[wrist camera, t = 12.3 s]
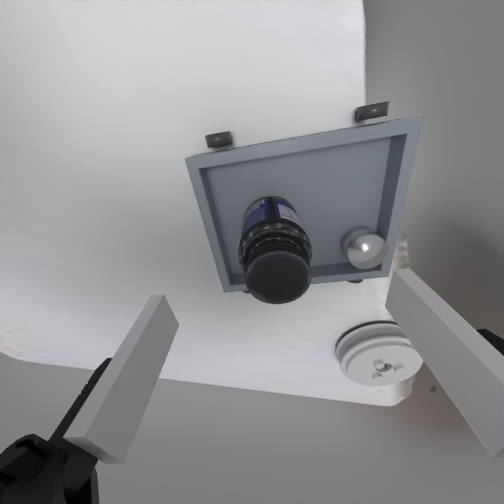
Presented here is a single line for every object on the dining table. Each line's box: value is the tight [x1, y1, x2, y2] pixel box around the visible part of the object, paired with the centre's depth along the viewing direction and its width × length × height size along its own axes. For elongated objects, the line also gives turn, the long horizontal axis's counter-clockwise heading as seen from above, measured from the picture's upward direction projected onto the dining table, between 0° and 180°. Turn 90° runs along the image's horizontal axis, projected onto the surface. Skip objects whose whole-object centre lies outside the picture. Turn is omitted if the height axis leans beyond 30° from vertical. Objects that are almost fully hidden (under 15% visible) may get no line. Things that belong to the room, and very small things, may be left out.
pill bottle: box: [238, 196, 312, 304], centre depth 19 cm, size 6×6×11 cm
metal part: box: [340, 226, 389, 269], centre depth 23 cm, size 4×4×3 cm
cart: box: [185, 102, 423, 293], centre depth 23 cm, size 20×19×4 cm
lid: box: [336, 323, 424, 386], centre depth 34 cm, size 13×13×5 cm
